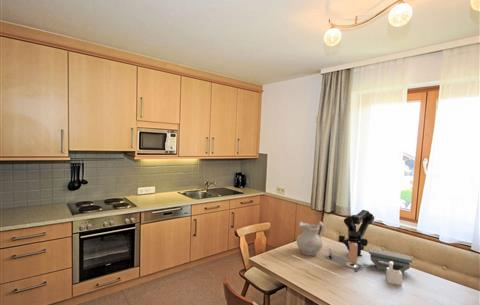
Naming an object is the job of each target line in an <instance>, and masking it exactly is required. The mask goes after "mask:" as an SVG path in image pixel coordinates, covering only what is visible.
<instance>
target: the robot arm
mask: <svg viewBox="0 0 480 305" xmlns="http://www.w3.org/2000/svg"><path fill="white" fill-rule="evenodd" d="M374 221H375V216H374V214H372V213H371V212H370V211H369V210H365V209H361V211H360V212H358V213H357V214H352V215H350V216H349V215H348V216H347V217H345V218H344V219H343V222H344V225H345V226H346V228H347V235H348V236H347V237H345V235H338V241H337V242H338V243H343V245H344V246H345V247H346V249H347V251H348V252H349V242H353V243H357V245H358V251H357V257H363V254H362V251H364V250H365V247H367V246H368V243H369V241H368V239H367V238H364V235H365V233H366V231H367V229H368V227H369V226H370V225H372V224H373V222H374ZM357 225H358V226H359V228H358V229H357Z"/></svg>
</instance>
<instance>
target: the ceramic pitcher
mask: <svg viewBox="0 0 480 305" xmlns="http://www.w3.org/2000/svg"><path fill="white" fill-rule="evenodd" d="M324 225H325V224H324V223H323V221H321V220H319V221H317V224H309V223H307V222H303V221H299V222H298V227H299V228H301V231H302V232H301V233H300V234H299V235H297V237H296V245H297V247H298V249H299V250H300V251H301V253H302V254H305V255H308V256H315V255H316V254H318V253H319V252H320V251H321V250H322V248H323V241H322V236H323V234H324V233H323V232H324V229H325V227H324ZM319 230H320V231H319ZM318 233H319V234H318Z"/></svg>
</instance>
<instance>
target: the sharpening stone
mask: <svg viewBox="0 0 480 305" xmlns="http://www.w3.org/2000/svg"><path fill="white" fill-rule="evenodd" d="M368 254H369V255H370V261H371V262H372V263H373V264H374V265H375V267H376V268H377V269H378V270H380V271H384V272H386V270H387V267H389V262H390V261H394V262H397V263H399V264H400V271H401V273H402V274H403V273H404V272H405V271H407V270H409V269H410V268H411V266H410V264H412V263H413V259H412V256H411V255H406V254H402V253H397V252H396V253H395V252H391V251H385V250H382V249H381V250H380V249H376V248H372V247H371V248H370V247H369V248H368Z"/></svg>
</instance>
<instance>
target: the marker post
mask: <svg viewBox="0 0 480 305" xmlns="http://www.w3.org/2000/svg"><path fill="white" fill-rule="evenodd" d="M348 243H349V251H348V254H347V255H348V259H347V260H349V262H354V263H357V264H358V256H357V251H358V245H357V243H353V242H350V241H348Z"/></svg>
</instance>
